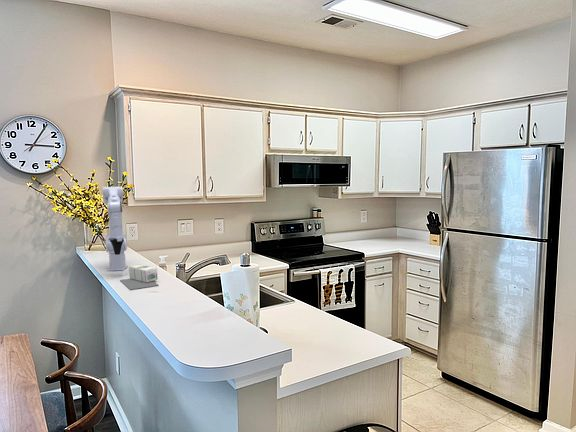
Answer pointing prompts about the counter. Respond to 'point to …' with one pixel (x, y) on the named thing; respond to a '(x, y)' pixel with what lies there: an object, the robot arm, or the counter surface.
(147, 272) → the syrup box
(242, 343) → the counter surface
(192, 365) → the counter surface
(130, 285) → the mat
